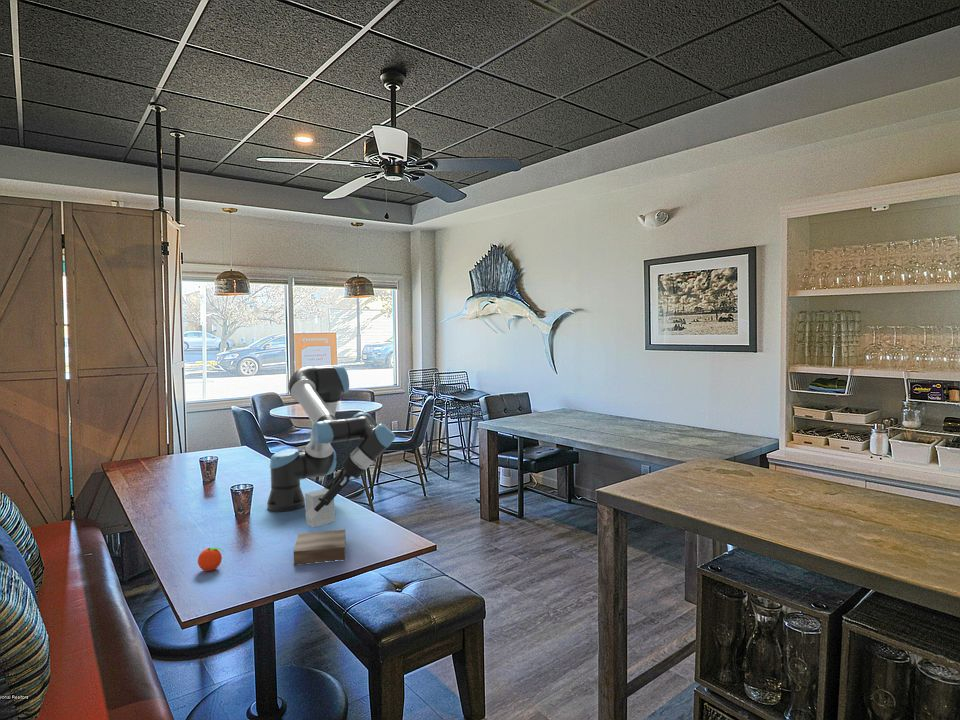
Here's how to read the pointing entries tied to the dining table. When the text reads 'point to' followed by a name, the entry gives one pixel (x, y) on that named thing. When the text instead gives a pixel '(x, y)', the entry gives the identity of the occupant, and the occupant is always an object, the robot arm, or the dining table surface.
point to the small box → (325, 514)
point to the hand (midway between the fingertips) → (310, 512)
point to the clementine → (210, 559)
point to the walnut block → (319, 547)
